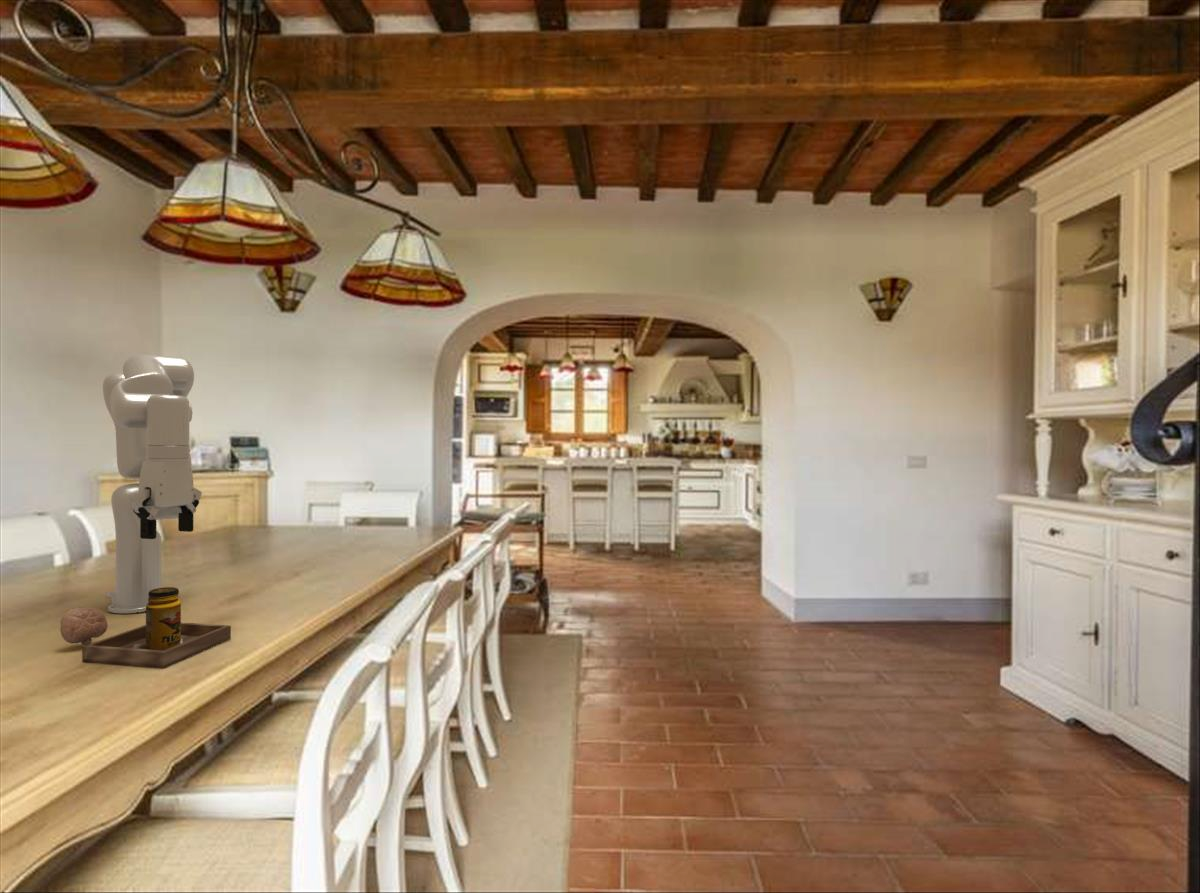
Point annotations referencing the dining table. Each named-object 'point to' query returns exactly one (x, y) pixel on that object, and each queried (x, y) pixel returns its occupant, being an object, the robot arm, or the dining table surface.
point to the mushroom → (83, 625)
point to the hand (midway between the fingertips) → (167, 534)
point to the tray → (124, 652)
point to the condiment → (162, 620)
